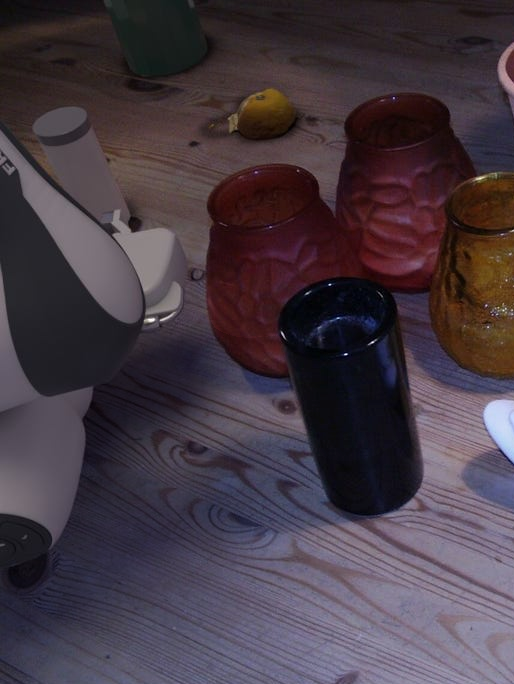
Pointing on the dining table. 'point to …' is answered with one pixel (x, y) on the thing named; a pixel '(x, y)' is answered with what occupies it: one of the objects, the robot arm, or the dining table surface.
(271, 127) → the fruit
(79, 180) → the shaker
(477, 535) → the dining table surface
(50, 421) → the robot arm
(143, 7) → the holder
